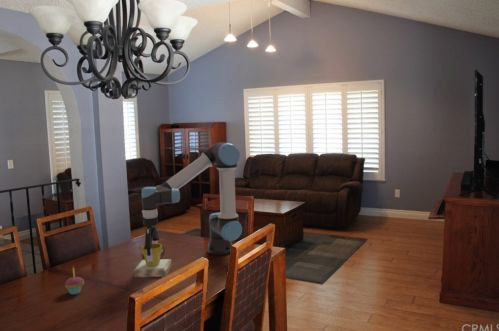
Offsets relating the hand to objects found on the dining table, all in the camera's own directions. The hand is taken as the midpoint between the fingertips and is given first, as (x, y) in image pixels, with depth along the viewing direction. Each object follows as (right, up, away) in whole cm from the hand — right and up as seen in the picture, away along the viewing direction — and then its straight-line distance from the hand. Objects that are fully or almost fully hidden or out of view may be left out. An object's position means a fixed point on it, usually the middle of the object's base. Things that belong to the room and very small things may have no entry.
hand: (152, 256), depth 226 cm
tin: (-4, -6, +19) cm, 20 cm away
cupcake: (-31, -12, -24) cm, 41 cm away
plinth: (0, -8, +1) cm, 8 cm away
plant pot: (0, -4, 0) cm, 4 cm away
